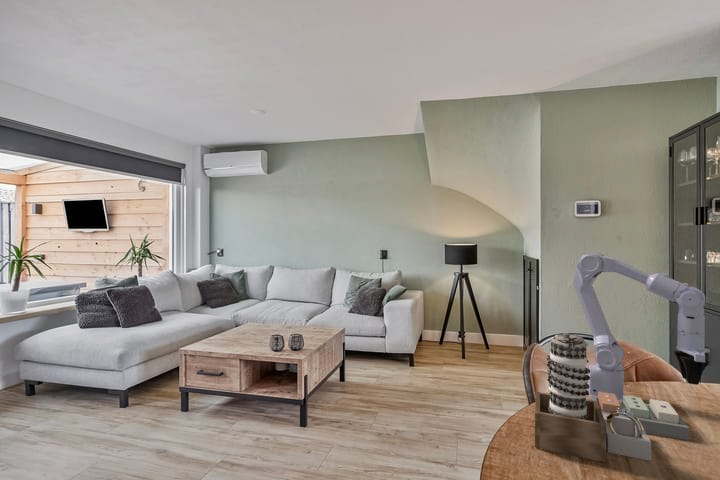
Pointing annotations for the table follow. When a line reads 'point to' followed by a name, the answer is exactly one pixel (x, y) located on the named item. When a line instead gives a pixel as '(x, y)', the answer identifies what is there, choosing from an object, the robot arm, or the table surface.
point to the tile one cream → (663, 411)
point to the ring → (627, 414)
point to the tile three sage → (636, 406)
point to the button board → (658, 424)
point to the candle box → (570, 431)
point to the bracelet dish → (627, 439)
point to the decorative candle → (568, 376)
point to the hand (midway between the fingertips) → (690, 381)
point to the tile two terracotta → (608, 402)
